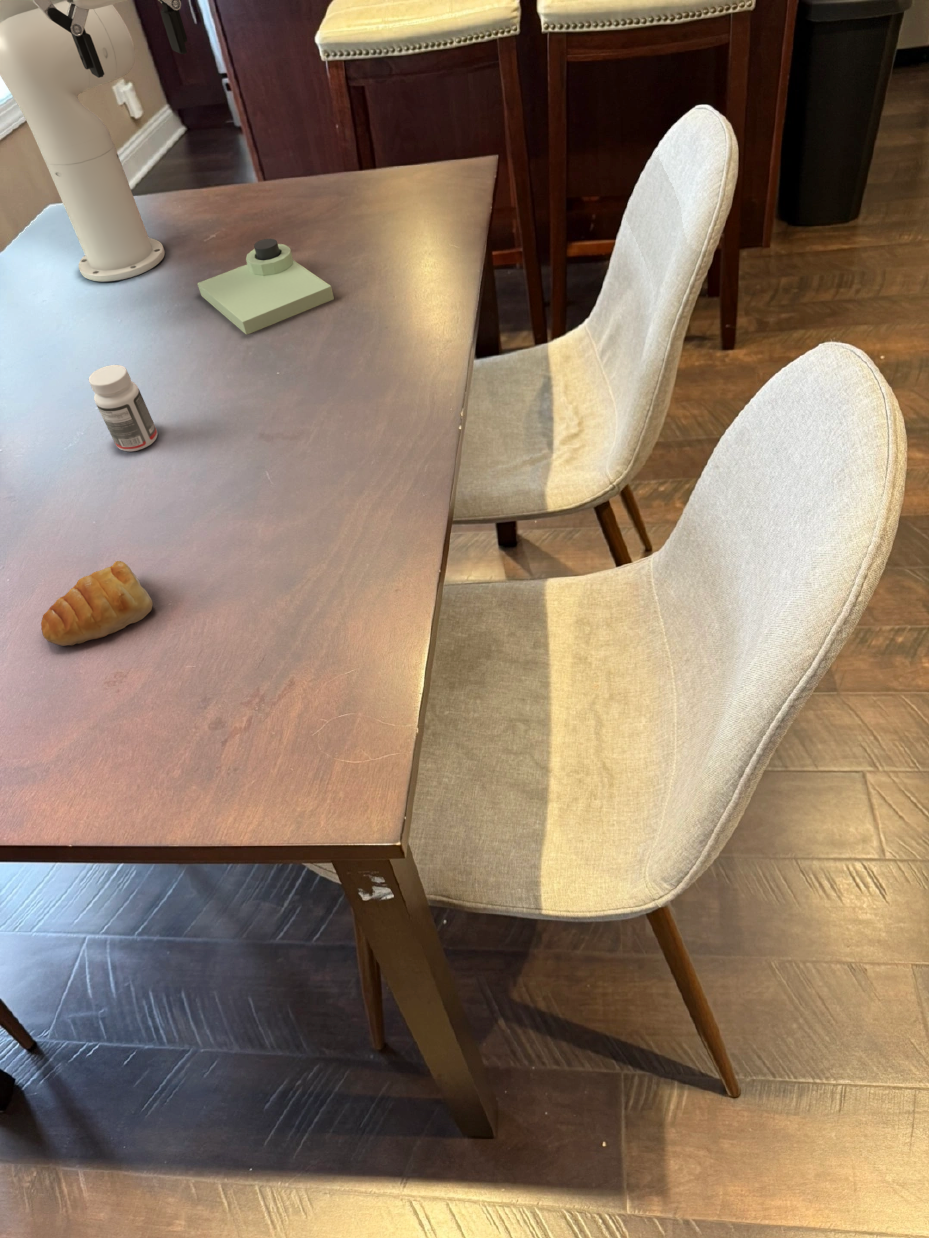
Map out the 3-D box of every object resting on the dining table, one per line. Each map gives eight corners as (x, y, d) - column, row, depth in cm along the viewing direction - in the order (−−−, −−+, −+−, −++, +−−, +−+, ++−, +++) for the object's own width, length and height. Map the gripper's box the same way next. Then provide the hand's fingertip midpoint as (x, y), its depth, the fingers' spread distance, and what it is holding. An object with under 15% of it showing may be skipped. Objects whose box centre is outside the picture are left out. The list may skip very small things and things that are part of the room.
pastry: (63, 666, 74) (43, 637, 71) (37, 625, 78) (16, 595, 75) (162, 610, 78) (146, 580, 75) (132, 574, 81) (116, 543, 79)
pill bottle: (140, 423, 99) (111, 358, 93) (167, 434, 97) (139, 368, 91) (107, 445, 97) (75, 379, 91) (134, 457, 95) (103, 391, 88)
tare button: (253, 256, 119) (250, 244, 118) (274, 249, 120) (270, 236, 119) (263, 264, 117) (260, 251, 116) (284, 256, 119) (281, 243, 117)
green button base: (201, 296, 120) (192, 271, 117) (284, 264, 124) (278, 240, 122) (246, 335, 111) (238, 310, 108) (334, 299, 115) (329, 274, 113)
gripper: (144, -155, 89) (199, 39, 101) (-25, -122, 84) (55, 78, 96) (168, -154, 84) (223, 49, 97) (-9, -119, 79) (73, 91, 91)
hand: (139, 63), depth 96 cm, fingers open, 9 cm apart
